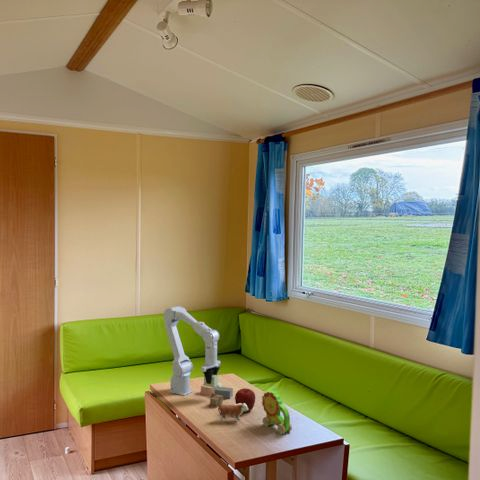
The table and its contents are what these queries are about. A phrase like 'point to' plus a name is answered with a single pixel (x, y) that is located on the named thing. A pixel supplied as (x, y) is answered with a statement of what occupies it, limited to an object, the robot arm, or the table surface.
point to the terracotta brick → (207, 390)
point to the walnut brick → (216, 401)
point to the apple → (245, 398)
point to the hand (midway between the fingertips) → (210, 382)
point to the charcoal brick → (224, 392)
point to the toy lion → (275, 412)
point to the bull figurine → (232, 410)
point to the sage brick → (212, 381)
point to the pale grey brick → (218, 386)
